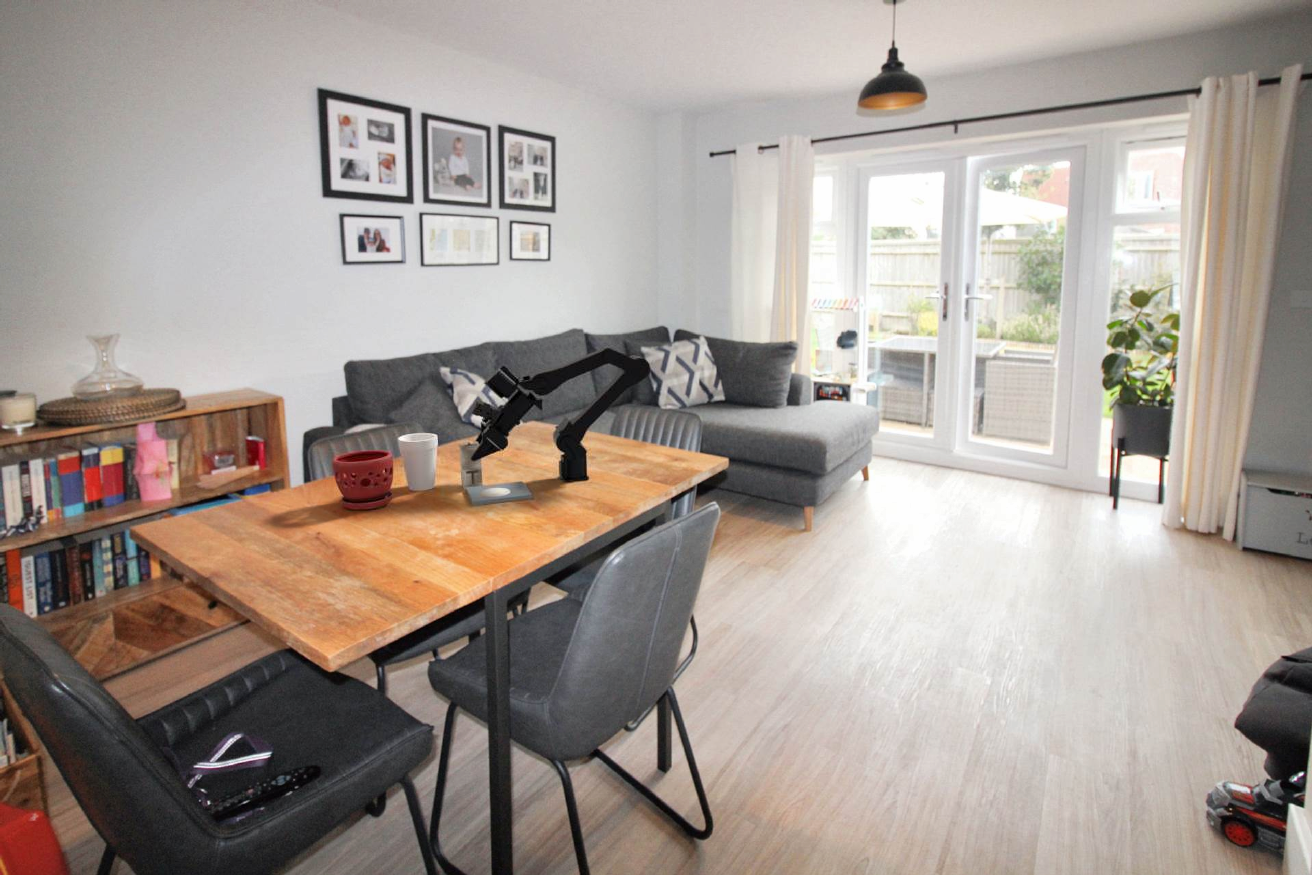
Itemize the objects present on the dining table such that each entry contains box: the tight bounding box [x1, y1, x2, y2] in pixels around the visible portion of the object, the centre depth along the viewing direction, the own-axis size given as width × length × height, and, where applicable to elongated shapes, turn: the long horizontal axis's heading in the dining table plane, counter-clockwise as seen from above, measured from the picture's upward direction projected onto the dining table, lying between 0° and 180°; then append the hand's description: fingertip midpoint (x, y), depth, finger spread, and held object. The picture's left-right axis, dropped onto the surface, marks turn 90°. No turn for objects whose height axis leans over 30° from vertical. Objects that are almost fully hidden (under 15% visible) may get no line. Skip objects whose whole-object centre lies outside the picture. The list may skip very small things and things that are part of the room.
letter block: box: [458, 441, 484, 491], centre depth 188 cm, size 5×5×11 cm
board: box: [465, 480, 533, 507], centre depth 182 cm, size 14×12×1 cm
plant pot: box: [331, 449, 394, 511], centre depth 174 cm, size 13×13×12 cm
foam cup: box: [397, 432, 439, 492], centre depth 187 cm, size 10×9×13 cm
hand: (471, 455), depth 187 cm, fingers open, 9 cm apart
